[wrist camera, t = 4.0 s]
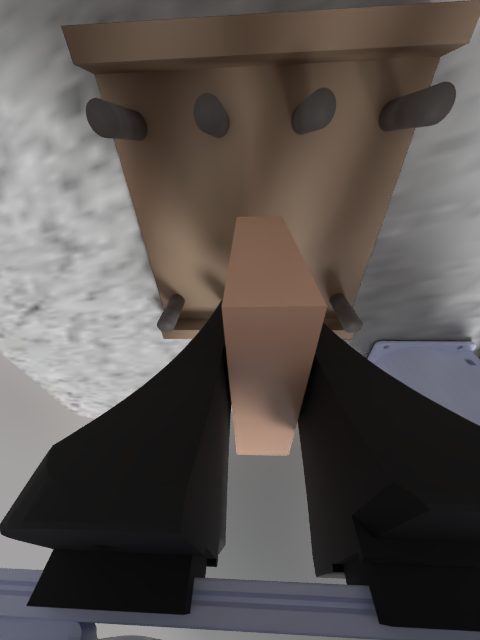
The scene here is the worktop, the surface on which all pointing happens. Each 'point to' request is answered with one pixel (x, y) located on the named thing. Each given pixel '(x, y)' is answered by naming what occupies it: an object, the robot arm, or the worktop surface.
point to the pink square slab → (268, 333)
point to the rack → (266, 134)
